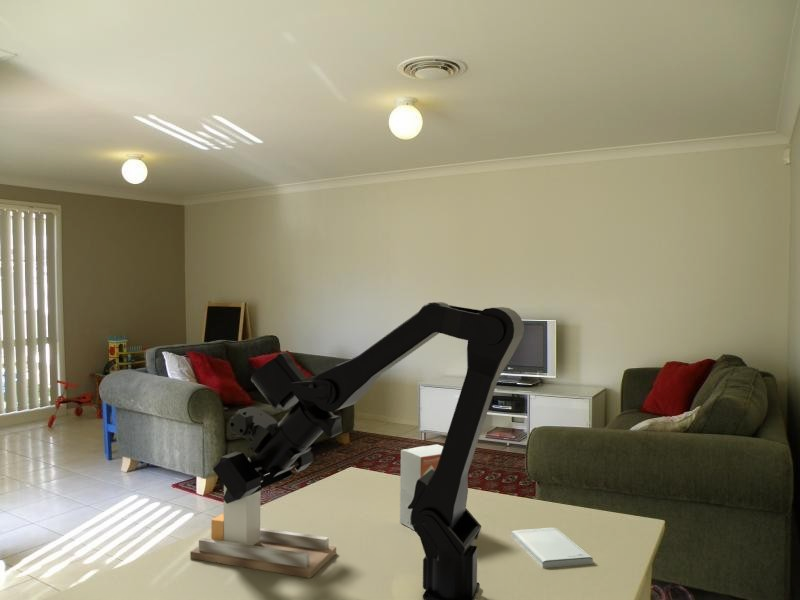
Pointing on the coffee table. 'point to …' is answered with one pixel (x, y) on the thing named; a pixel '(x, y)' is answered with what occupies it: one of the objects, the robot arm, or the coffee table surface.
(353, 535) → the coffee table surface
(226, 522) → the block
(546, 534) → the hard drive
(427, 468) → the small box
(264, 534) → the rail board
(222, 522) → the block
